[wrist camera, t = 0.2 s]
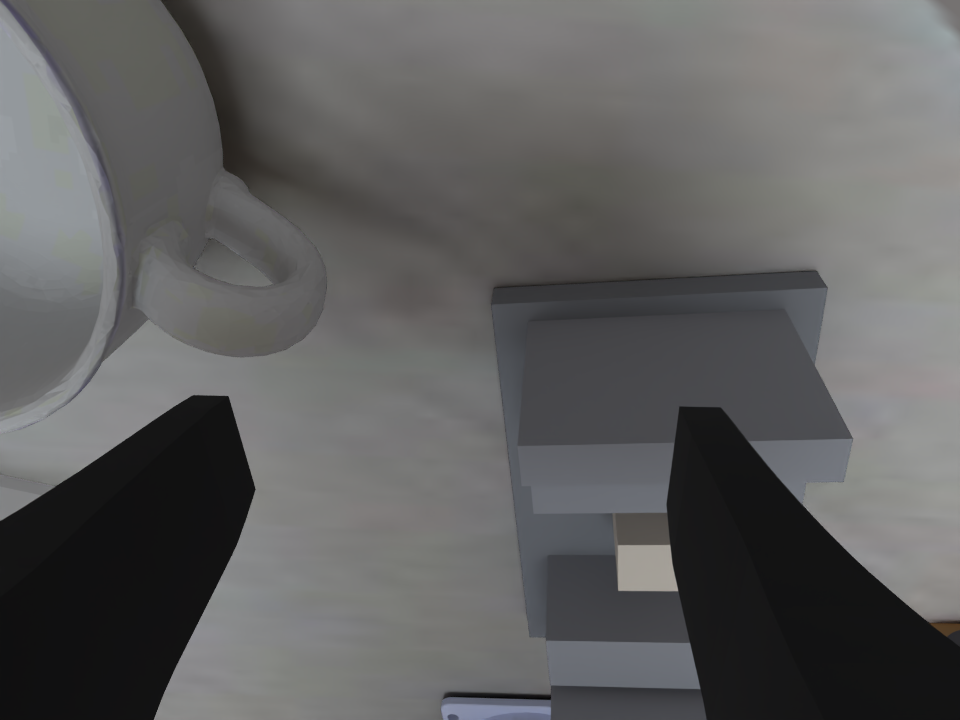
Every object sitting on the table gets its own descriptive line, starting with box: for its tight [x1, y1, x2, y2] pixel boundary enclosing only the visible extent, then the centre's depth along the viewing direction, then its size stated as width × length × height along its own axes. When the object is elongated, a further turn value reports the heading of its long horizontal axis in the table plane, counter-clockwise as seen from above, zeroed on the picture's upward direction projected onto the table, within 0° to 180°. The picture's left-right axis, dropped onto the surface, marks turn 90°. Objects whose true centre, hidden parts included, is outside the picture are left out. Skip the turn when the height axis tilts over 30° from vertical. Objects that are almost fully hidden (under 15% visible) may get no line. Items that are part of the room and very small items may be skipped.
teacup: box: [0, 0, 327, 434], centre depth 16 cm, size 14×11×8 cm
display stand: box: [491, 271, 853, 720], centre depth 22 cm, size 15×9×6 cm, turn 6°
